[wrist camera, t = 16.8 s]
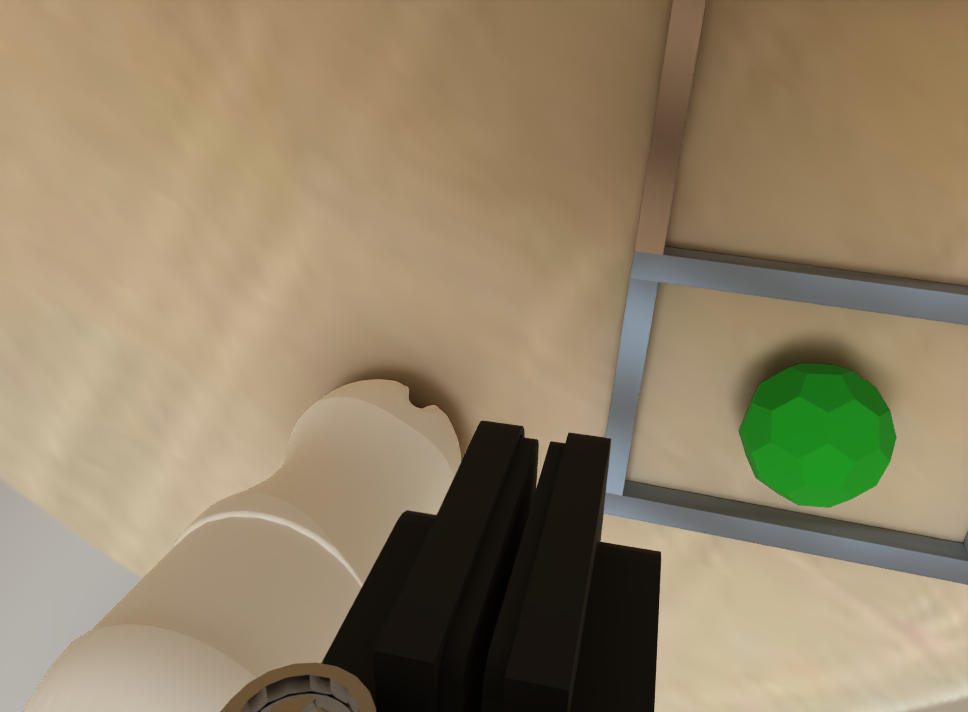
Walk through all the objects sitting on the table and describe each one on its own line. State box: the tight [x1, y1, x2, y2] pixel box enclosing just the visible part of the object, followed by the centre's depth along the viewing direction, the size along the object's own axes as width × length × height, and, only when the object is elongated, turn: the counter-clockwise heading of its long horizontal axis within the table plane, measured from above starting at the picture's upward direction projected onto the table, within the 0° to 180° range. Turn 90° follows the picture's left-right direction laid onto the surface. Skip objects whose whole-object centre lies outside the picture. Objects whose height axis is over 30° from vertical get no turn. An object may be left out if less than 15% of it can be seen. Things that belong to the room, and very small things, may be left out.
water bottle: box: [23, 379, 461, 712], centre depth 23 cm, size 7×7×25 cm
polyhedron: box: [739, 363, 896, 507], centre depth 28 cm, size 5×5×5 cm
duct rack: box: [603, 0, 968, 585], centre depth 27 cm, size 21×15×1 cm
